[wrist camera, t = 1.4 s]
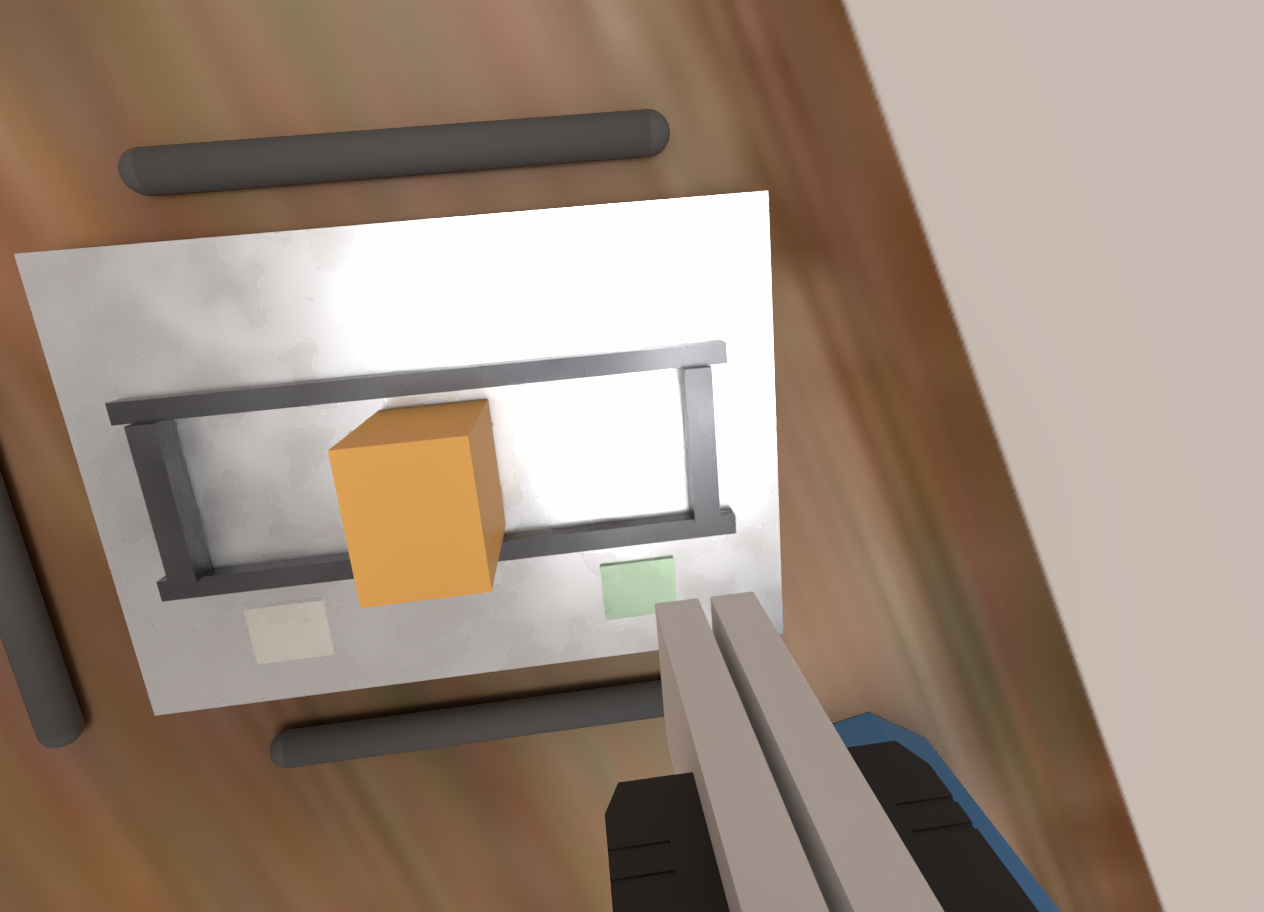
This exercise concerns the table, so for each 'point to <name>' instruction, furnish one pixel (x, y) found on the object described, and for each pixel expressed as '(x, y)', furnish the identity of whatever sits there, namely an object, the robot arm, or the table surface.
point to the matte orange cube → (421, 502)
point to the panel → (407, 377)
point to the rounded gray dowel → (33, 640)
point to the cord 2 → (467, 724)
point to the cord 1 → (392, 152)
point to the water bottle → (881, 730)
